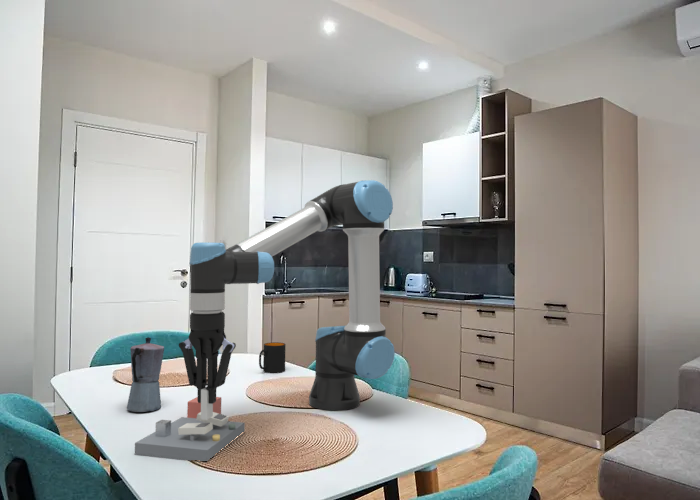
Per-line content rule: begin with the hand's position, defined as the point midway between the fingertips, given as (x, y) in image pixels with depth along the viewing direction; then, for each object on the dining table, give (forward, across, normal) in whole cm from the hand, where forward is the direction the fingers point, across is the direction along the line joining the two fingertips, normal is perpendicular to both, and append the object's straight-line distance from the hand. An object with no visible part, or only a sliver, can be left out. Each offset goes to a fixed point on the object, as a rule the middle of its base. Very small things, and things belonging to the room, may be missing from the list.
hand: (206, 417), depth 114 cm
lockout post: (+5, +11, 0) cm, 11 cm away
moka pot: (+7, +32, -24) cm, 40 cm away
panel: (+7, +5, -3) cm, 9 cm away
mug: (+8, +16, -80) cm, 82 cm away
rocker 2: (+3, +2, -8) cm, 9 cm away
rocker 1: (+3, +2, 0) cm, 4 cm away
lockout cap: (+7, +12, -21) cm, 25 cm away
